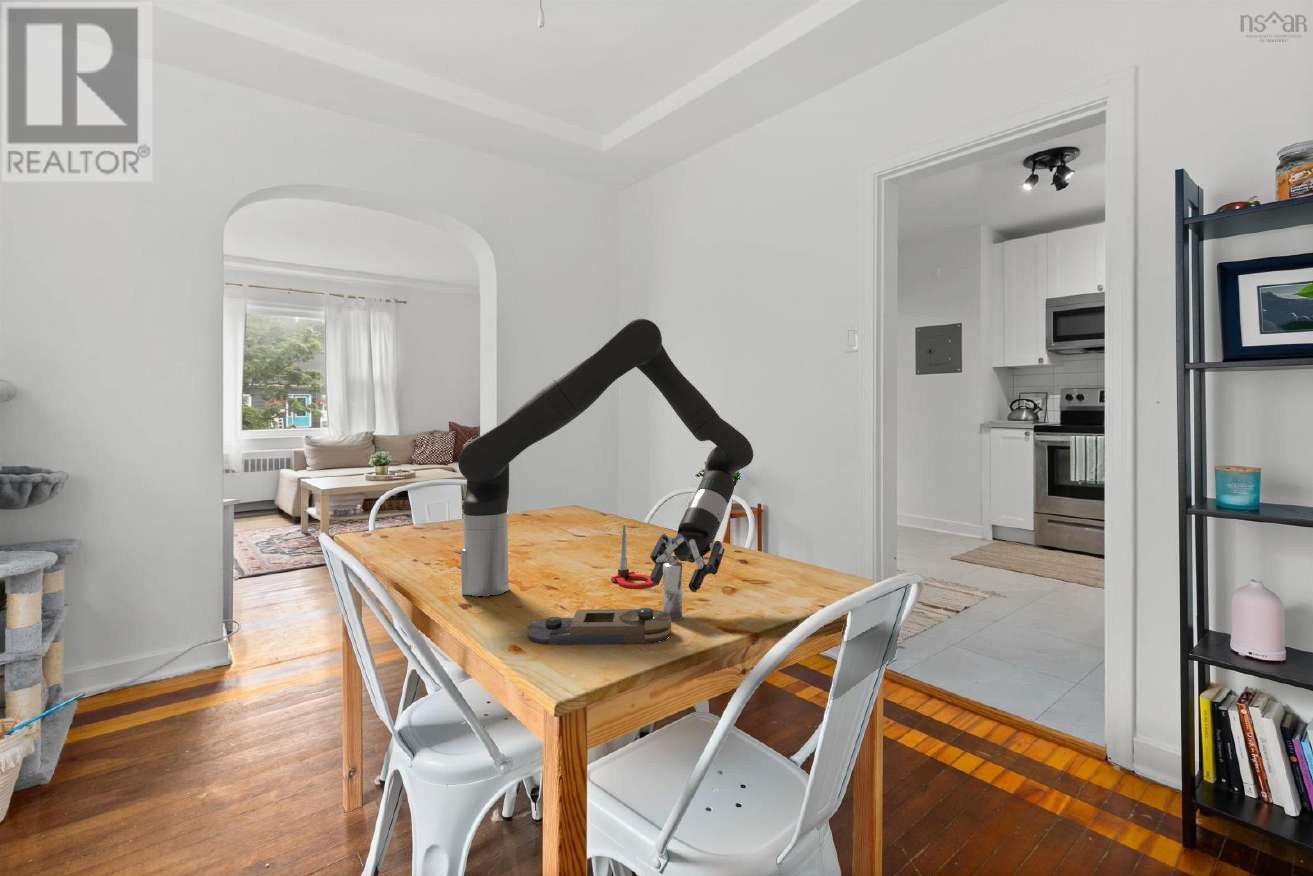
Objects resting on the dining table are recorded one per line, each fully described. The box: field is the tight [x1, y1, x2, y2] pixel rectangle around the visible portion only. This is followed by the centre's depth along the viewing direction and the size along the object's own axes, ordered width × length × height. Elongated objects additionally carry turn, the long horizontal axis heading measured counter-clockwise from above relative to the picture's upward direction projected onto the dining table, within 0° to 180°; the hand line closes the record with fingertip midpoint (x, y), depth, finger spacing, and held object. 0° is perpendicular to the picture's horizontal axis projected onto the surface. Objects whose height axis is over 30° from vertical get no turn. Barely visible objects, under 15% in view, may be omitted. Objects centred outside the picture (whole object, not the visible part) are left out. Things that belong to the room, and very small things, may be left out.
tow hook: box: [610, 524, 655, 589], centre depth 142 cm, size 8×13×9 cm
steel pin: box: [662, 562, 683, 621], centre depth 118 cm, size 4×4×10 cm
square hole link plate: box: [526, 607, 672, 645], centre depth 109 cm, size 25×9×4 cm, turn 90°
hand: (672, 586), depth 118 cm, fingers open, 8 cm apart
